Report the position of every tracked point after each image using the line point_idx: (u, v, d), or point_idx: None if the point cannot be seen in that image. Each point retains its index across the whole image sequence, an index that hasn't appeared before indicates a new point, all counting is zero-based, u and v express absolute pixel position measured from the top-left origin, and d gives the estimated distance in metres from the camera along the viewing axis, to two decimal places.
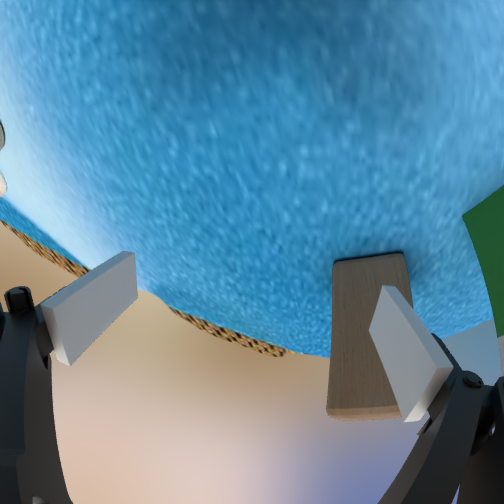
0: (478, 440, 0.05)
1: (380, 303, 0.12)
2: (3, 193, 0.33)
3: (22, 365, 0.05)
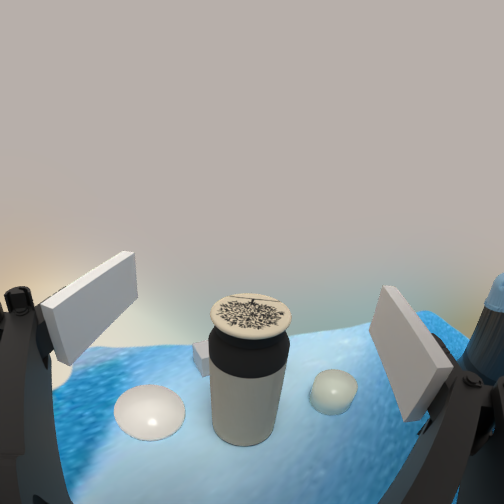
0: (478, 440, 0.05)
1: (380, 303, 0.12)
2: (130, 432, 0.26)
3: (22, 365, 0.05)
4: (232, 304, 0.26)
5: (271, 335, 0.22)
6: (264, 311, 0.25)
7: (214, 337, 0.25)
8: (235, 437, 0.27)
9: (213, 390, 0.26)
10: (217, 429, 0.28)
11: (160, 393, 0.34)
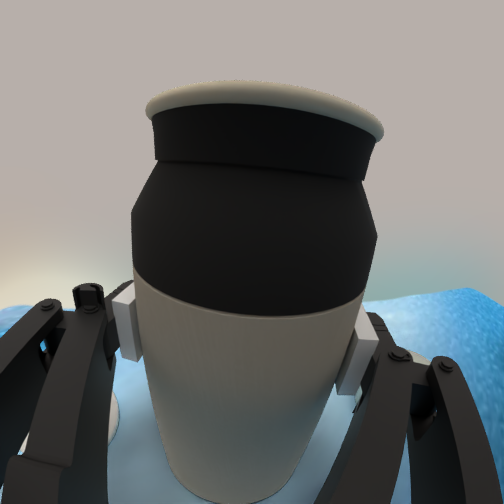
0: (422, 423, 0.07)
1: None
2: None
3: (84, 368, 0.06)
4: None
5: (350, 108, 0.05)
6: None
7: None
8: (211, 491, 0.09)
9: (147, 373, 0.09)
10: (172, 466, 0.11)
11: None
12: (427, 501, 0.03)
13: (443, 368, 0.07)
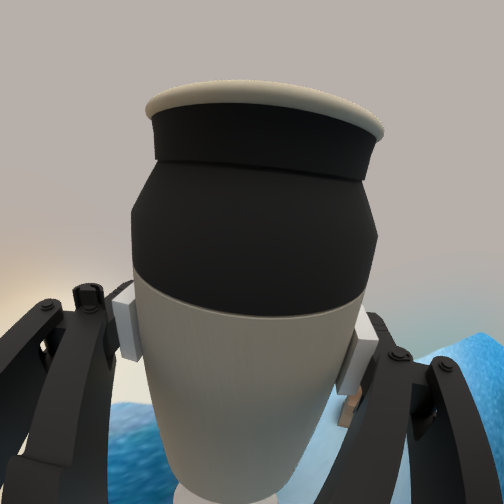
0: (421, 423, 0.07)
1: None
2: None
3: (84, 368, 0.06)
4: None
5: (350, 107, 0.05)
6: None
7: None
8: (211, 491, 0.09)
9: (147, 373, 0.09)
10: (172, 466, 0.11)
11: None
12: (427, 501, 0.03)
13: (443, 368, 0.07)
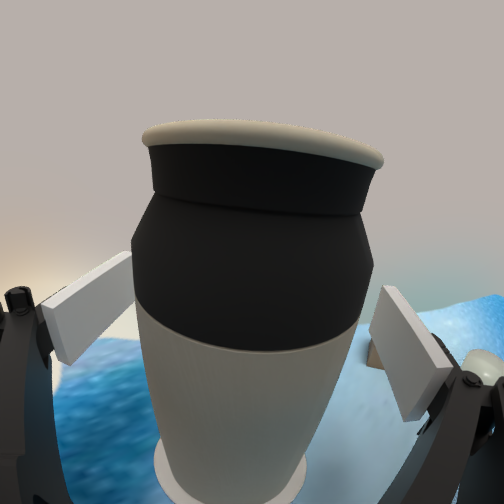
0: (478, 440, 0.05)
1: (380, 303, 0.12)
2: None
3: (22, 365, 0.05)
4: None
5: (349, 146, 0.05)
6: None
7: (146, 209, 0.08)
8: (211, 497, 0.09)
9: (150, 390, 0.09)
10: (174, 473, 0.11)
11: None
12: None
13: None
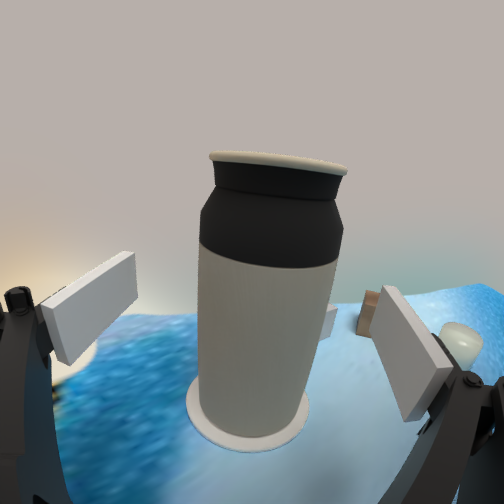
0: (478, 440, 0.05)
1: (381, 303, 0.12)
2: (228, 441, 0.16)
3: (22, 365, 0.05)
4: None
5: (324, 165, 0.11)
6: None
7: (212, 197, 0.14)
8: (238, 419, 0.16)
9: (202, 318, 0.15)
10: (206, 405, 0.17)
11: None
12: None
13: None
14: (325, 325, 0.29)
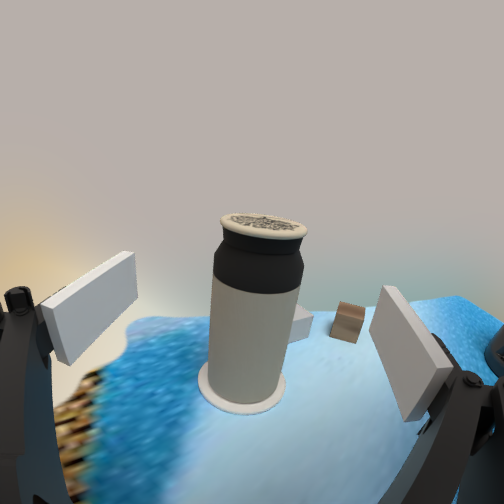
0: (478, 440, 0.05)
1: (381, 303, 0.12)
2: (227, 406, 0.25)
3: (22, 365, 0.05)
4: (243, 217, 0.24)
5: (288, 236, 0.20)
6: (278, 223, 0.24)
7: (221, 248, 0.23)
8: (234, 389, 0.25)
9: (214, 321, 0.24)
10: (213, 380, 0.26)
11: None
12: None
13: None
14: (303, 328, 0.38)
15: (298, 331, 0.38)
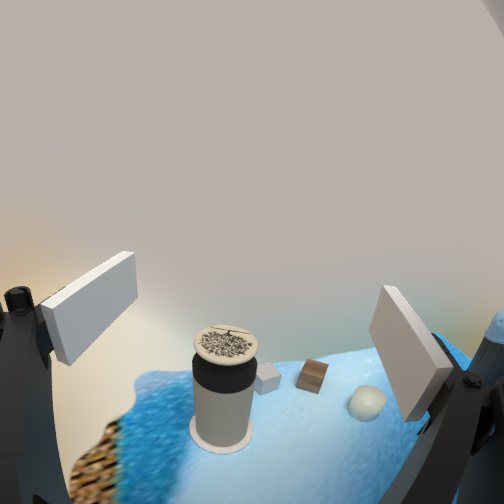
0: (478, 440, 0.05)
1: (380, 303, 0.12)
2: (209, 448, 0.32)
3: (22, 365, 0.05)
4: (211, 335, 0.32)
5: (239, 363, 0.28)
6: (236, 342, 0.31)
7: (196, 360, 0.30)
8: (213, 439, 0.32)
9: (195, 400, 0.31)
10: (199, 431, 0.33)
11: None
12: None
13: None
14: (273, 383, 0.46)
15: (268, 386, 0.45)
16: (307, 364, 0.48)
